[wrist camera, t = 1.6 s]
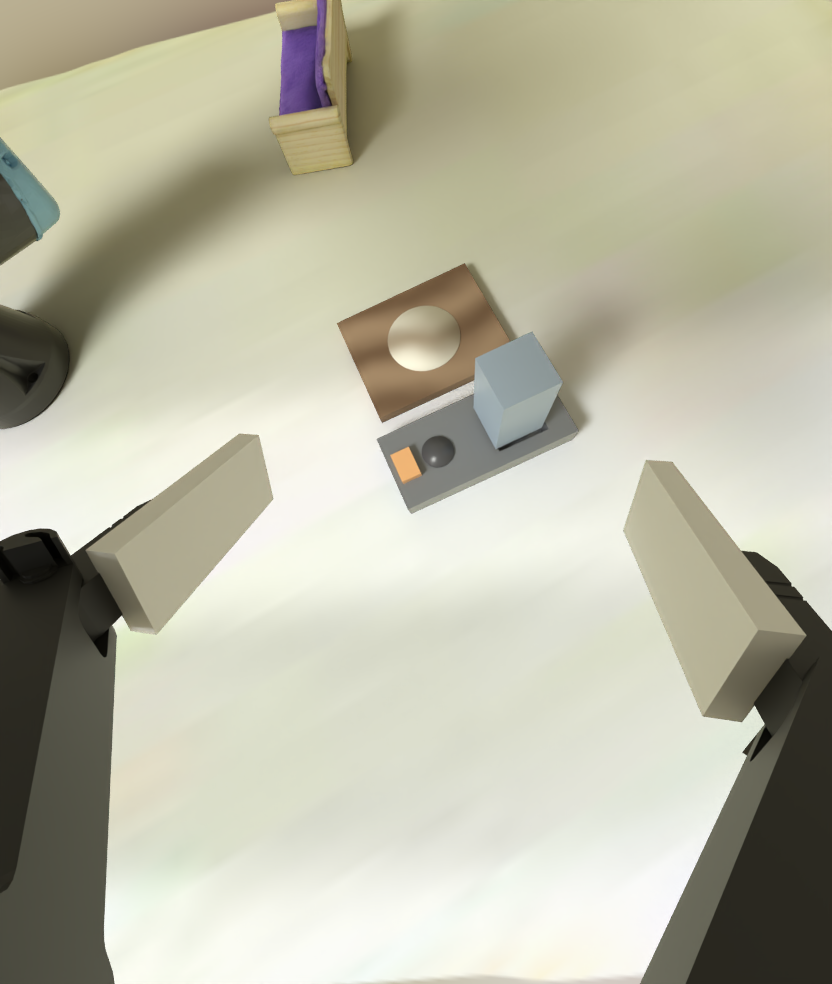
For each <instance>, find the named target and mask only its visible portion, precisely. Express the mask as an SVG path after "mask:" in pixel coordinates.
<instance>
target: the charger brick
mask: <svg viewBox="0 0 832 984" xmlns="http://www.w3.org/2000/svg"><path fill="white" fill-rule="evenodd" d="M562 383H563V381H562V380H561V378H560V376H559V375H558V373H557V371H556V370H555V368H554V366H553V365H552V363H551V362H550V360H549V358H548V357H547V355H546V353H545V352H544V350H543V349H542V347H541V345H540V344H539V342H538V340H537V339H536V337H535V335H534V334H533V332H530V333H528V334H526V335H523V336H521V337H519V338H517V339H515V340H513V341H511V342H509V343H506V344H504V345H502V346H500V347H498V348H496V349H494V350H492V351H489V352H487V353H485V354H483V355H481V356H479V357H477V358H475V379H474V406H473V408H474V410H475V412H476V413H477V415H478V417H479V419H480V421H481V423H482V425H483V426H484V428H485V430H486V432H487V434H488V436H489V438H490V440H491V441H492V443H493V445H494V447H495V449H497V448H498V449H500V448H503V447H505V446H507V445H509V444H511V443H513V442H515V441H518V440H520V439H522V438H524V437H526V436H528V435H529V433H532V432H534V431H536V430H538V429H540V428H542V426H543V424H544V422H545V419H546V417H547V415H548V413H549V411H550V409H551V407H552V405H553V402H554V400H555V398H556V396H557V394H558V392H559V390H560V388H561V385H562Z"/></svg>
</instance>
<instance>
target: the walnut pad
mask: <svg viewBox="0 0 832 984" xmlns="http://www.w3.org/2000/svg"><path fill="white" fill-rule="evenodd" d="M337 324H338V327H339V329H340V331H341V333H342V336H343V338H344V340H345V342H346V344H347V347H348V349H349V351H350V353H351V355H352V358H353V360H354V362H355V364H356V367H357V369H358V371H359V373H360V375H361V378H362V380H363V382H364V384H365V386H366V389H367V391H368V393H369V395H370V398H371V400H372V402H373V404H374V406H375V409H376V411H377V413H378V415H379V417H380V420H381V421H382V423H383V422H385V421H387V420H389V419H391V418H393V417H396V416H398V415H400V414H402V413H404V412H406V411H409V410H411V409H413V408H415V407H417V406H419V405H422V404H424V403H426V402H428V401H430V400H432V399H434V398H437V397H439V396H441V395H443V394H445V393H447V392H450V391H452V390H454V389H456V388H458V387H460V386H463V385H465V384H467V383H469V382H471V381H473V380H474V379H475V358H477V357H479V356H481V355H483V354H485V353H487V352H489V351H492V350H494V349H496V348H498V347H500V346H502V345H504V344H506V343H509V342H510V340H509V338H508V337H507V335H506V333H505V331H504V330H503V328H502V326H501V325H500V323H499V321H498V319H497V318H496V316H495V314H494V313H493V311H492V309H491V308H490V306H489V304H488V302H487V301H486V299H485V297H484V296H483V294H482V292H481V290H480V289H479V287H478V285H477V284H476V282H475V280H474V278H473V277H472V275H471V273H470V272H469V270H468V268H467V266H466V265H465V263H464V264H462V265H460V266H458V267H456V268H454V269H452V270H450V271H447V272H445V273H443V274H441V275H439V276H437V277H435V278H432V279H430V280H428V281H426V282H424V283H422V284H420V285H418V286H415V287H413V288H411V289H409V290H407V291H405V292H403V293H400V294H398V295H396V296H394V297H392V298H390V299H388V300H386V301H383V302H381V303H379V304H377V305H375V306H373V307H371V308H368V309H366V310H364V311H362V312H360V313H358V314H356V315H354V316H351V317H349V318H347V319H345V320H343V321H341V322H339V323H337Z"/></svg>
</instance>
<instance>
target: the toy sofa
mask: <svg viewBox="0 0 832 984" xmlns="http://www.w3.org/2000/svg"><path fill="white" fill-rule="evenodd" d="M275 6H276V13H277V17H278V20H279V23H280V26H281V29H282V37H283V38H282V57H281V93H280V107H279V110H280V113H279V116H274V117H270V118H269V124H270V128H271V130H272V132H273V134H274V135H276V137H277V140H278V142H279V144H280V147H281V149H282V151H283V154H284V156H285V158H286V161H287V163H288V165H289V167H290V170H291V172H292V174H293V175H297V174H303V173H309V172H315V171H321V170H327V169H332V168H338V167H344V166H349V165H352V164H353V158H352V154H351V151H350V147H349V144H348V140H347V116H346V96H347V92H346V70H347V63H348V62H352V55H351V50H350V45H349V40H348V36H347V31H346V26H345V21H344V16H343V11H342V4H341V0H293V1H287V2H281V3H276V5H275Z"/></svg>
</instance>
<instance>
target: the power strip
mask: <svg viewBox="0 0 832 984" xmlns="http://www.w3.org/2000/svg"><path fill="white" fill-rule="evenodd" d="M473 406H474V394H473V395H471V396H468V397H466V398H464V399H462V400H460V401H458V402H456V403H453V404H451V405H449V406H447V407H445V408H443V409H440V410H438V411H436V412H434V413H432V414H430V415H428V416H425V417H423V418H421V419H419V420H417V421H415V422H412V423H410V424H408V425H406V426H404V427H402V428H399V429H397V430H395V431H393V432H391V433H389V434H387V435H384V436H382V437H380V438H378V439H377V441H378V443H379V445H380V448H381V450H382V452H383V454H384V457H385V459H386V461H387V463H388V466H389V468H390V470H391V472H392V475H393V477H394V479H395V481H396V484H397V486H398V488H399V490H400V493H401V495H402V497H403V499H404V502H405V504H406V506H407V508H408V510H409V511H410V513H411V514H412V513H414V512H417V511H419V510H421V509H423V508H425V507H427V506H430V505H432V504H434V503H436V502H438V501H440V500H443V499H445V498H447V497H449V496H451V495H453V494H456V493H458V492H460V491H462V490H464V489H466V488H469V487H471V486H473V485H475V484H477V483H479V482H482V481H484V480H486V479H488V478H490V477H493V476H495V475H497V474H499V473H501V472H503V471H506V470H508V469H510V468H512V467H514V466H516V465H519V464H521V463H523V462H525V461H527V460H529V459H532V458H534V457H536V456H538V455H540V454H542V453H545V452H547V451H549V450H551V449H553V448H555V447H558V446H560V445H562V444H564V443H566V442H568V441H571V440H573V438H574V437H575V435H576V434H577V432H578V431H579V430H578V428H577V427H576V425H575V423H574V422H573V420H572V418H571V417H570V415H569V413H568V412H567V410H566V408H565V407H564V405H563V403H562V402H561V400H560V398H559V397H558V395H557V396H556V398H555V400H554V402H553V405H552V407H551V409H550V411H549V413H548V415H547V417H546V419H545V422H544V424H543V426H542V428H540V429H538V430H536V431H534V432H532V433H529V435H528V436H526V437H524V438H522V439H520V440H518V441H515V442H513V443H511V444H509V445H507V446H505V447H503V448H500V449H498V448H497V449H495V447H494V445H493V443H492V441H491V440H490V438H489V436H488V434H487V432H486V430H485V428H484V426H483V425H482V423H481V421H480V419H479V417H478V415H477V413H476V412H475V410H474V408H473Z"/></svg>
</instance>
